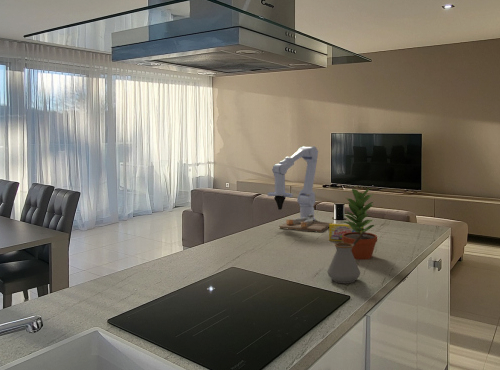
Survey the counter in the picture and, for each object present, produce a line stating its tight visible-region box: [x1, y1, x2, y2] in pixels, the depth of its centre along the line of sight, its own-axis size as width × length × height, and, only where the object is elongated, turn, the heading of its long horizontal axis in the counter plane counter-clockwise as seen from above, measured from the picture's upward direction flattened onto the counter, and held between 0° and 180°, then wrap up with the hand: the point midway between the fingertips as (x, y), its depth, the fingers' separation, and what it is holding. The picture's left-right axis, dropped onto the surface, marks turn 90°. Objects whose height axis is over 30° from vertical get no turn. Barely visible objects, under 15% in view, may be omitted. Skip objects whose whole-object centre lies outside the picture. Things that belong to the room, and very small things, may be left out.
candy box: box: [328, 223, 365, 242], centre depth 217 cm, size 16×2×8 cm, turn 73°
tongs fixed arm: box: [301, 214, 315, 227], centre depth 251 cm, size 17×4×4 cm, turn 153°
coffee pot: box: [327, 231, 368, 284], centre depth 164 cm, size 21×12×15 cm, turn 139°
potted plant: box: [340, 186, 378, 261], centre depth 189 cm, size 15×15×30 cm
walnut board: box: [278, 220, 333, 233], centre depth 251 cm, size 19×24×2 cm
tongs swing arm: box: [285, 217, 307, 225], centre depth 253 cm, size 13×2×2 cm, turn 123°
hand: (280, 209), depth 253 cm, fingers closed
